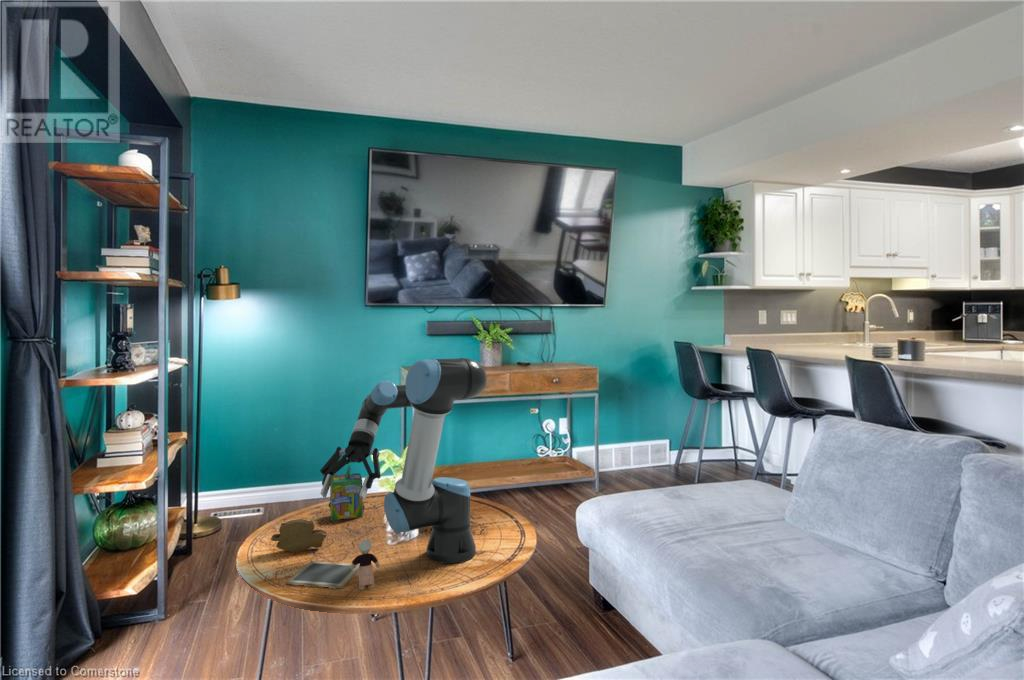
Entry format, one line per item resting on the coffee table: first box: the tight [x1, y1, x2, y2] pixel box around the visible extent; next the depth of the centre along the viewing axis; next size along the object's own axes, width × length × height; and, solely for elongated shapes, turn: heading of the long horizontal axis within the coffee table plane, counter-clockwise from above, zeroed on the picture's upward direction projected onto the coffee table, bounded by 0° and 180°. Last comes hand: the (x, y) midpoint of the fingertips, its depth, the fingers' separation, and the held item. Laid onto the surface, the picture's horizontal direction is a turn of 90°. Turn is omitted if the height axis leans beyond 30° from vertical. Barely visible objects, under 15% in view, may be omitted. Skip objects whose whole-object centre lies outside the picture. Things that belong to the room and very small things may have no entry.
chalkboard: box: [285, 560, 360, 590], centre depth 162 cm, size 16×14×1 cm
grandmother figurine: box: [350, 539, 381, 591], centre depth 155 cm, size 8×4×13 cm, turn 118°
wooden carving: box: [270, 518, 327, 553], centre depth 181 cm, size 16×5×10 cm, turn 109°
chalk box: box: [329, 465, 363, 521], centre depth 176 cm, size 9×9×15 cm
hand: (342, 496), depth 173 cm, fingers closed on chalk box, 12 cm apart
